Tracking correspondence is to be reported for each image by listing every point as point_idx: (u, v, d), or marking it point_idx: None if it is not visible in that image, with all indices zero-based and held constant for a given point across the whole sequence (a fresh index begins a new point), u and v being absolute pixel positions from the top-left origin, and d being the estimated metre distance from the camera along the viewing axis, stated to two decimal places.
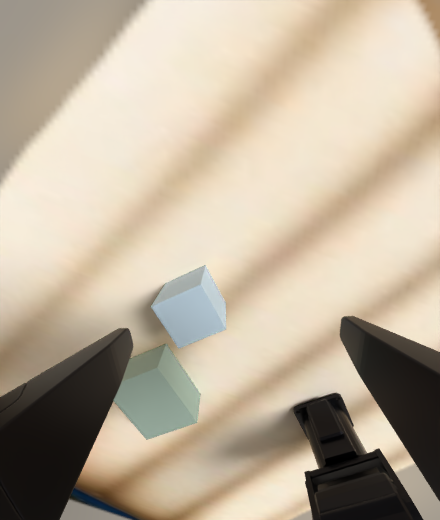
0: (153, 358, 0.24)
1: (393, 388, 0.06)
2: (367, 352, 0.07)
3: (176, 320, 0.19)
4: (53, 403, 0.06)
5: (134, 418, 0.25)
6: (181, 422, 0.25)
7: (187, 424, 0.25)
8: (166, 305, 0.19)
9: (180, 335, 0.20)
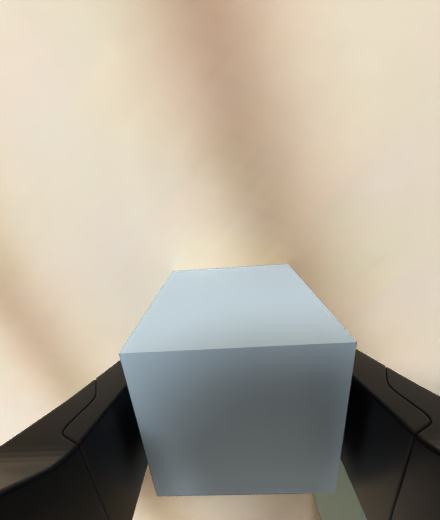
0: None
1: None
2: None
3: (231, 463, 0.06)
4: (125, 401, 0.05)
5: None
6: None
7: None
8: (167, 465, 0.06)
9: (291, 473, 0.06)
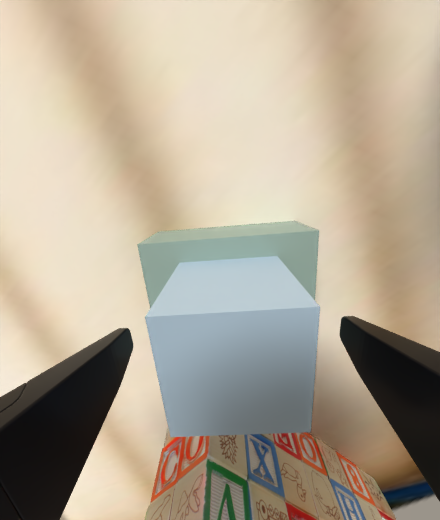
0: None
1: (393, 388, 0.06)
2: (367, 352, 0.07)
3: (229, 407, 0.07)
4: (53, 404, 0.06)
5: None
6: (300, 262, 0.11)
7: (312, 253, 0.11)
8: (179, 409, 0.07)
9: (276, 415, 0.07)
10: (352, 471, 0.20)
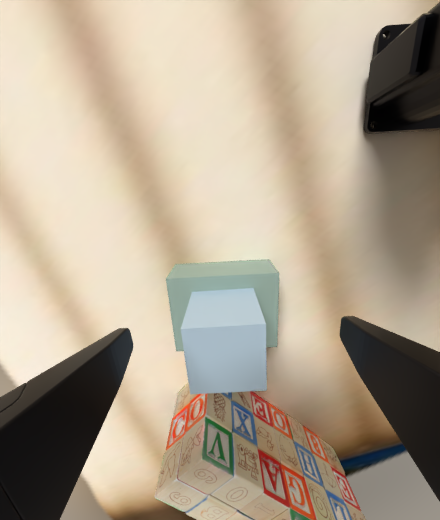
0: None
1: (393, 388, 0.06)
2: (367, 352, 0.07)
3: (222, 376, 0.13)
4: (53, 404, 0.06)
5: None
6: (268, 291, 0.17)
7: (275, 286, 0.17)
8: (195, 378, 0.14)
9: (247, 380, 0.14)
10: (314, 440, 0.26)
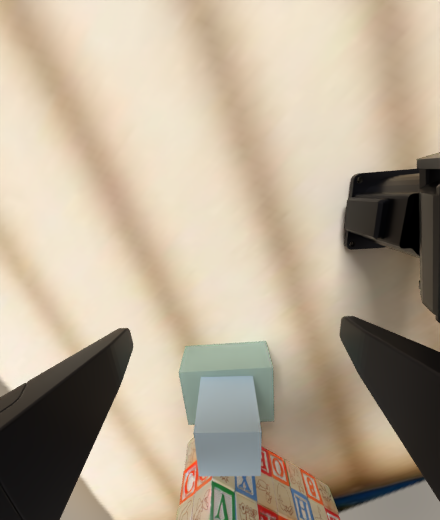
0: None
1: (393, 388, 0.06)
2: (367, 352, 0.07)
3: (225, 465, 0.17)
4: (53, 403, 0.06)
5: None
6: (264, 381, 0.20)
7: (270, 377, 0.20)
8: (203, 465, 0.17)
9: (245, 468, 0.17)
10: (310, 482, 0.29)
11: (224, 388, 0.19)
